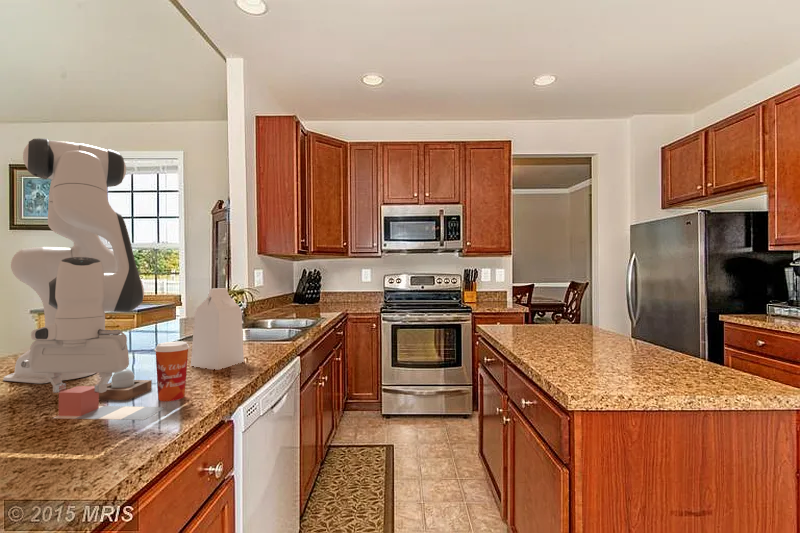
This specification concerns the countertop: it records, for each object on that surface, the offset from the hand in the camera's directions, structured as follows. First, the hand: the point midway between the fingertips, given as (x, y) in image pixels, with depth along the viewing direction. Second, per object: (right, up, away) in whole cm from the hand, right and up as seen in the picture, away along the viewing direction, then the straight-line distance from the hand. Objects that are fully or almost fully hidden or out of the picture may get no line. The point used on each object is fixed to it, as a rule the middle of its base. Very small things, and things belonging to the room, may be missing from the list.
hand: (80, 392), depth 91 cm
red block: (0, -5, 0) cm, 5 cm away
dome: (+1, -5, +13) cm, 14 cm away
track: (+7, -5, 0) cm, 9 cm away
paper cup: (+14, -5, +11) cm, 19 cm away
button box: (0, -5, +13) cm, 14 cm away
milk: (+9, -6, +49) cm, 50 cm away
